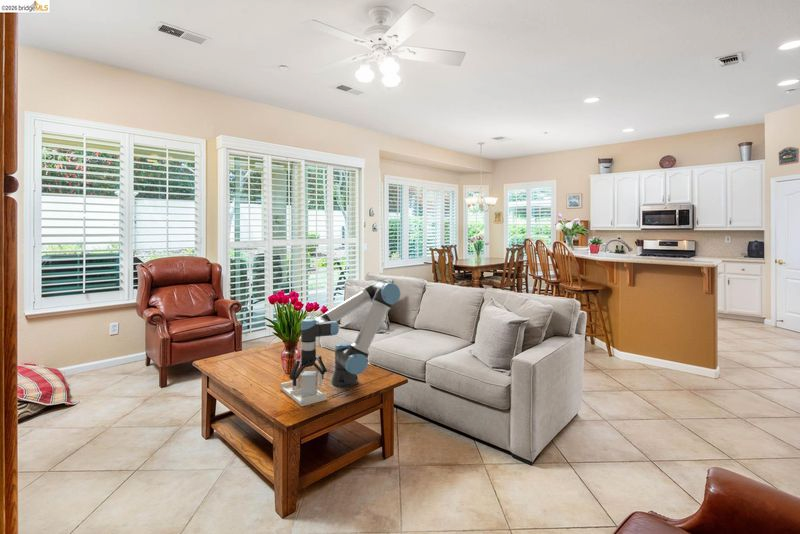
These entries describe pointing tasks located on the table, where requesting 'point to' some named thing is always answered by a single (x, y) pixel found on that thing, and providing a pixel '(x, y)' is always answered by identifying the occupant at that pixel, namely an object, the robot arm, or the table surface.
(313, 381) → the supplement box
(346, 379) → the robot arm
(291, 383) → the tray
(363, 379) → the table surface
